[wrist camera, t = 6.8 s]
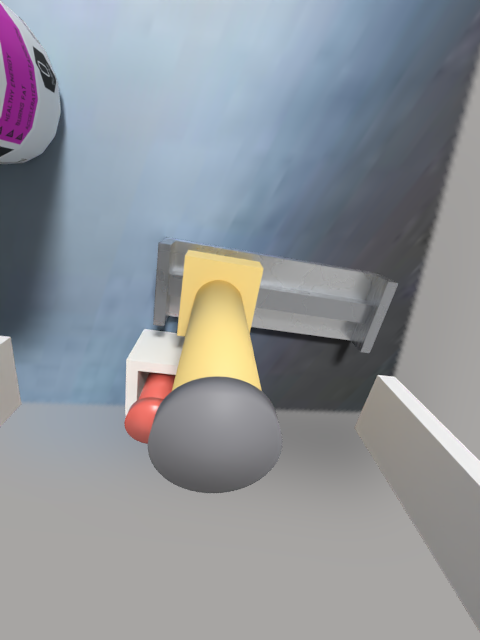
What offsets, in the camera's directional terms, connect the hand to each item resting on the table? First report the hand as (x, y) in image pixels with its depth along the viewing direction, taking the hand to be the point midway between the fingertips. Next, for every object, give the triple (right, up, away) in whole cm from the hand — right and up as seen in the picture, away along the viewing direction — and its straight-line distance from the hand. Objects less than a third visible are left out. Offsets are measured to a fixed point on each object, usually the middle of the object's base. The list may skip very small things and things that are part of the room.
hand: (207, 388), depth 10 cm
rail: (+4, +5, +13) cm, 14 cm away
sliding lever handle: (0, +5, +11) cm, 12 cm away
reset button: (-5, -2, +12) cm, 13 cm away
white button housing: (-5, -1, +15) cm, 16 cm away
